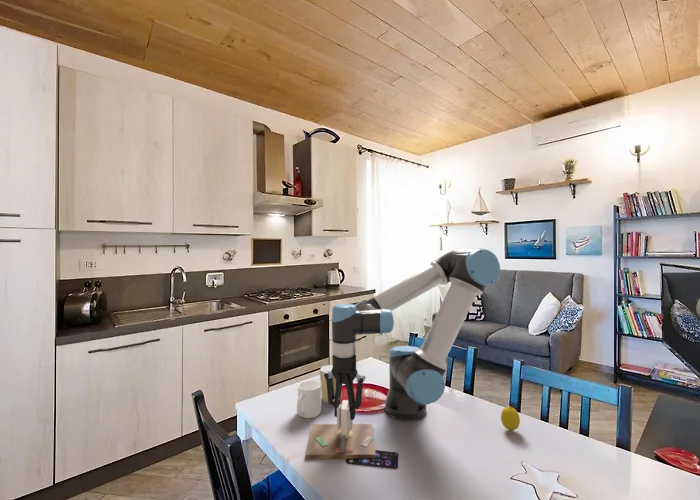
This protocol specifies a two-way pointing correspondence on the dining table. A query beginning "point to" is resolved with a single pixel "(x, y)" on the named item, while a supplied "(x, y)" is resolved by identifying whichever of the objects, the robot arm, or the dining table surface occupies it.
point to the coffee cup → (323, 382)
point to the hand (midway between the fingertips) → (344, 427)
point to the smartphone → (377, 460)
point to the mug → (309, 399)
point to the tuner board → (329, 440)
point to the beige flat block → (344, 424)
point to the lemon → (510, 418)
